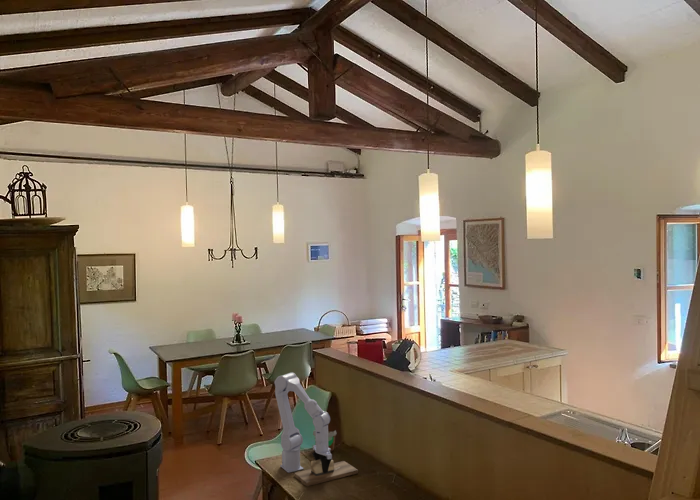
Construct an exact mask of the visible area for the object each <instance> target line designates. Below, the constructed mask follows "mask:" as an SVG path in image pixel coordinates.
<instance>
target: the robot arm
mask: <svg viewBox="0 0 700 500" xmlns="http://www.w3.org/2000/svg"><path fill="white" fill-rule="evenodd" d="M274 387H275V389H274V390H275V391H274V395H275V399H276V402H277V403H276V404H277V408H278V412H279V416H280V421H281V425H282V428H283V431H282V433H281V435H280V438H281V439H280V440H281V441H280V446H281V448H282V451H281V464H280V468H282V469H283V470H284V471H285V472H286V473H288V474H289V473H295V472H299V471H303V470H305V469H304V467H303V466H301V446H302V444H303V442H304V439H303V435H302V434H301V433H300V429H299V428H298V427H296V426H295V421H294V418H293V417H294V415H293V412H292V409H291V405H290V401H289V396H288V394H289V392H294V394H295V395H296V396H297V397H298V398H299V399H300V401H302V403H304V409H305V411H306V412H307V414H308V415H309V416H310V417H311V419H312V425H313V426H314V430H315V431H316V445H312V450H313V451H314V452H312V456H313V458H314V461H315V460H319V459H320V461H321V464H322V470H323V473H326V472H328V468H329V464H330V462H331V460H333V454H332V453H331V452H330V450H331V449H330V448H328V431H329V424H330V422H331V416H330V414H329V412H327V411H324V410H323V409H322V408H321V407H320V405H319V404H318V402H317V400H315V399H311V398H310V397H309V395H308V394H307V391H306V390H305V388H304V387H303V385H302V384H301V382H300V378H299V377H298V376H297V375H296V373H295V372H293V371H291V372H288V373H285V374H282V375H279V376H277V377H276V379H274Z"/></svg>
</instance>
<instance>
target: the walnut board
mask: <svg viewBox="0 0 700 500" xmlns="http://www.w3.org/2000/svg"><path fill="white" fill-rule="evenodd" d="M293 474H294V475H293V477H294V478H296V479H297V480H298V481H299V482H301V483H302V484H304V486H306V487H310V486H312V485H313V486H314V485H318V484H321V483H325V482H328V481H329V482H330V481H332V480H337V479H340V478H344V477H348V476H352V475H353V476H354V475H356V474H359V469H357V468H356V467H354V466H353V465H351V464H350V463H348V462H346V461H345V460H342V461H337V462H334V472H331V473H327V474H323V475H319V476H315V475H314V474H312V473H311V468H309V469H303V470H299V471H294V472H293Z"/></svg>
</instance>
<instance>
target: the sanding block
mask: <svg viewBox="0 0 700 500" xmlns="http://www.w3.org/2000/svg"><path fill="white" fill-rule="evenodd" d="M334 461H335V460H333V459H332V460H331V462H330V464H329V468H328V472H326V473H323V470H322V464H321V461H320V459H319V460H315V459H314V460H311V461H310V469H311V473H312V474H314V475H315V476H319V475H323V474H327V473H331V472H334V463H335V462H334Z"/></svg>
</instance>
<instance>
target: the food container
mask: <svg viewBox="0 0 700 500" xmlns="http://www.w3.org/2000/svg"><path fill="white" fill-rule="evenodd" d="M337 433H338V432H337V430H336V429H335V430H334V431H329V430H328V448H330V449H331V450H330V453H331V452H334V450H335V443H336V436H337ZM312 435H313V437H314V444H315V445H316V430H315V429H313V433H312Z"/></svg>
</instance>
